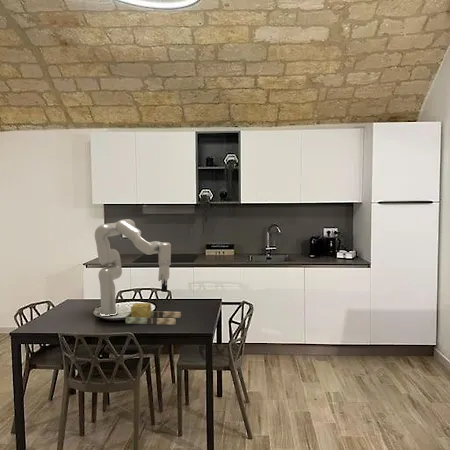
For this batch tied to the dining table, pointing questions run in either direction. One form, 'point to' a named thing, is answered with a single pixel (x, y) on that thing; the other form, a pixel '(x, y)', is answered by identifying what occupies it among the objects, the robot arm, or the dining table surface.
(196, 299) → the dining table surface
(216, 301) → the dining table surface
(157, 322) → the track
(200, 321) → the dining table surface
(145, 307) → the cheese
